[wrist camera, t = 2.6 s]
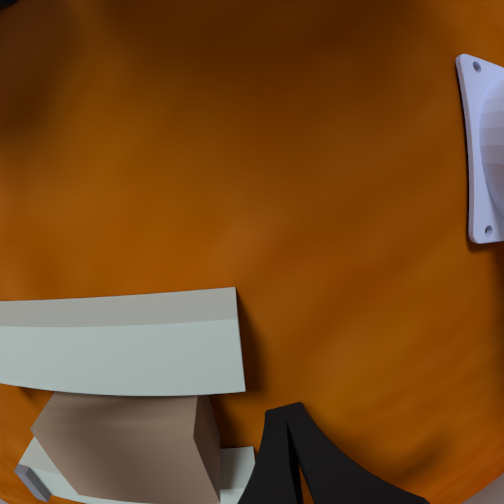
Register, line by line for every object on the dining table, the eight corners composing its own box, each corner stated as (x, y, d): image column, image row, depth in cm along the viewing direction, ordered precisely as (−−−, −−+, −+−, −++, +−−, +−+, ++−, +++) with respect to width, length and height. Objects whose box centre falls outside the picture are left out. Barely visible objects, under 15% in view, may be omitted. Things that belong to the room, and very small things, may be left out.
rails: (235, 287, 11) (238, 328, 8) (256, 475, 13) (262, 522, 10) (-23, 301, 10) (-63, 328, 7) (53, 463, 13) (37, 498, 10)
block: (201, 363, 12) (193, 437, 8) (220, 433, 13) (220, 503, 9) (69, 371, 11) (30, 429, 8) (101, 435, 12) (78, 494, 8)
